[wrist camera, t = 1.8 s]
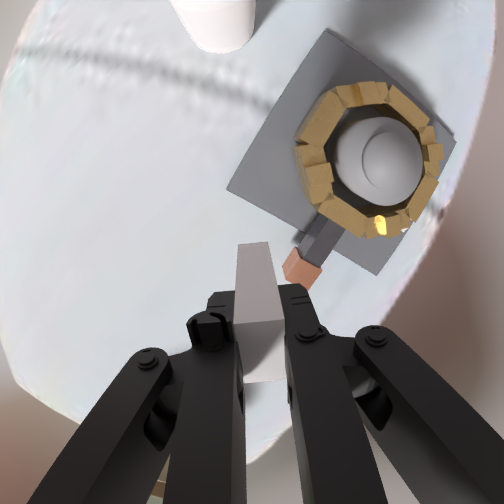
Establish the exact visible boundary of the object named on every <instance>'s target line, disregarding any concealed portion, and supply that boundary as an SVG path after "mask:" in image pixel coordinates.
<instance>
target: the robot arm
mask: <svg viewBox="0 0 504 504" xmlns="http://www.w3.org/2000/svg"><path fill="white" fill-rule="evenodd" d="M186 326H187V329H188V333H189V336H190V339H191V343H192V348H191V349H190V350H188V351H186V352H183V353H180V354H176V355H172V356H168V355H167V353H166V352H165V351H164V350H162V349H159V348H151V347H150V348H146V349H142V350H140V351H138V352H136V353H135V354H134V355H133V356H132V357H131V358H130V359H129V360H128V362H127V363H126V364H125V366H124V367H123V368H122V370H121V371H120V372H119V373H118V375H117V376H116V377H115V379H114V380H113V381H112V383H111V384H110V385H109V387H108V388H107V389H106V391H105V392H104V393H103V395H102V396H101V397H100V399H99V400H98V401H97V403H96V404H95V406H94V407H93V408H92V410H91V411H90V412H89V414H88V415H87V416H86V418H85V419H84V421H83V422H82V423H81V425H80V426H79V428H78V429H77V430H76V432H75V433H74V435H73V436H72V437H71V439H70V440H69V442H68V443H67V444H66V446H65V447H64V449H63V450H62V452H61V453H60V455H59V456H58V457H57V459H56V460H55V462H54V463H53V465H52V466H51V468H50V469H49V471H48V472H47V474H46V475H45V477H44V478H43V480H42V481H41V483H40V484H39V486H38V487H37V489H36V490H35V492H34V493H33V495H32V496H31V498H30V499H29V501H28V503H27V504H146V503H147V500H148V498H149V496H150V495H151V492H152V490H153V488H154V486H155V484H156V482H157V480H158V478H159V476H160V474H161V472H162V470H163V468H164V466H165V464H166V462H167V459H168V457H169V455H170V459H169V465H168V471H167V478H166V484H165V491H164V497H163V504H247V493H246V438H245V393H244V388H243V380H244V383H255V382H266V381H276V380H285V379H287V388H288V403H289V404H290V411H291V417H292V424H293V431H294V438H295V445H296V452H297V459H298V465H299V474H300V481H301V489H302V495H303V503H304V504H388V501H387V498H386V495H385V491H384V488H383V484H382V481H381V478H380V474H379V471H378V468H377V465H376V461H375V458H374V455H373V452H372V449H371V446H370V443H369V440H368V437H367V434H366V431H365V428H364V425H365V426H366V428H367V429H368V431H369V432H370V433H371V435H372V436H373V438H374V439H375V441H376V442H377V444H378V445H379V446H380V448H381V449H382V451H383V452H384V453H385V455H386V456H387V458H388V459H389V461H390V462H391V463H392V465H393V466H394V468H395V469H396V470H397V472H398V473H399V475H400V476H401V477H402V479H403V480H404V482H405V483H406V484H407V486H408V487H409V489H410V490H411V491H412V493H413V494H414V496H415V497H416V498H417V500H418V501H419V503H420V504H504V440H503V439H502V437H501V436H500V435H499V434H498V433H497V432H496V431H495V430H494V429H493V428H492V427H491V426H490V425H489V424H488V423H487V422H486V421H485V420H484V419H483V418H482V417H481V416H480V415H479V414H478V413H477V412H476V411H475V410H474V409H473V408H472V406H470V405H469V404H468V402H467V401H465V400H464V399H463V398H462V397H461V396H460V395H459V394H458V393H457V392H456V391H455V390H454V389H453V388H452V387H451V386H450V385H449V384H448V383H447V382H446V381H445V380H444V379H443V378H442V377H441V376H440V375H439V374H438V373H437V372H436V371H434V369H433V368H431V367H430V366H429V365H428V364H427V363H426V362H425V361H424V360H423V359H422V358H421V357H420V356H419V355H418V354H417V353H415V352H414V351H413V350H412V349H411V348H410V347H409V346H408V345H407V344H406V343H405V342H404V341H402V340H401V339H400V338H399V337H398V336H397V335H396V334H395V333H394V332H393V331H391V330H390V329H388V328H386V327H383V326H377V325H371V326H366V327H363V328H362V329H360V330H359V331H358V332H357V334H356V335H355V338H353V337H340V336H335V335H332V334H330V333H329V331H328V330H327V329H326V327H324V326H322V325H321V324H320V322H319V320H318V317H317V315H316V312H315V309H314V307H313V304H312V302H311V299H310V297H309V294H308V291H307V289H306V288H305V287H304V286H302V285H301V284H300V283H295V284H286V285H277V281H276V277H275V272H274V268H273V263H272V258H271V254H270V249H269V245H268V242H259V243H249V244H239V245H238V255H237V270H236V286H235V290H234V291H223V292H214V293H213V295H212V296H211V297H210V298H209V299H208V303H207V308H206V311H202V312H200V313H197V314H195V315H194V316H192V317H191V318H190V319H189V320H188V322H187V323H186ZM363 423H364V425H363ZM170 453H171V454H170Z"/></svg>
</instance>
